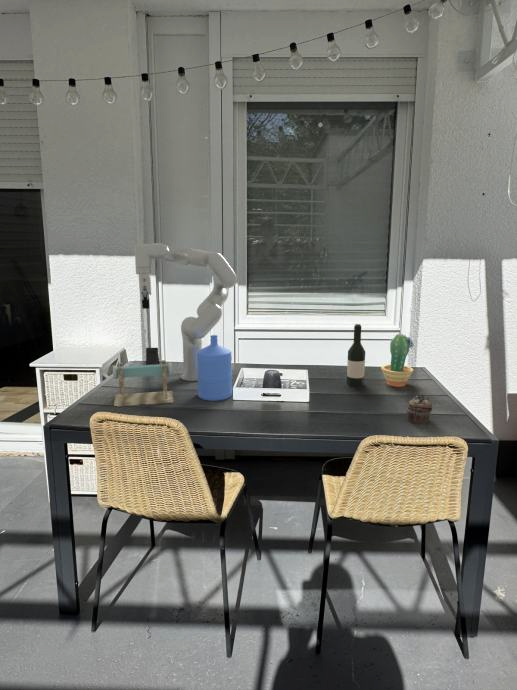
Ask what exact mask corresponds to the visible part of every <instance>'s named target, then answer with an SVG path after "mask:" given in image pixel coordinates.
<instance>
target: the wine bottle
mask: <svg viewBox="0 0 517 690" xmlns="http://www.w3.org/2000/svg"><path fill="white" fill-rule="evenodd" d="M354 324H355V325H354V326H353V327H354V328H353V342H352V344H351V346H350V347H349V349H348V351H347V364H346V365H347V367H346V370H347V371H346V385H347V386H349V387H356V388H357V387H358V388H359V387H363V386H364V384H365V369H366V368H365V367H366V366H365V365H366V350H365V348H364V346H363V345H362V342H361V341H362V325H361V323H354Z"/></svg>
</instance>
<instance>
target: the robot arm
mask: <svg viewBox="0 0 517 690" xmlns="http://www.w3.org/2000/svg"><path fill="white" fill-rule="evenodd" d="M153 260H160V261H165V262H170V263H177V264H179V265H183V266H189V267H195V268H201V269H208V270H212V272H213V275H212V280H213V288H212V290H211V292H210V293H209V294H208V296H206V298H205V299H204V300H203V301H202V302H201V303H200V304H199V305H198V307H197V309H196V314H197V317H194V316H187V317H185V318H184V319H183V320H182V321H181V326H180V331H181V332H180V333H181V337H182V358H183V359H182V361H183V362H182V363H183V373H182V374H181V375H180V379H181V380H182V381H186V382H198V379H197V373H198V368H197V352H198V351H199V350H201V349H203V343H202V339H203V338H205V337H206V336H207V335H208V334H209V333H210V332H211V330H213V328H214V327H215V326H216V325H218V323H219V322H220V320H221V318H222V315H223V311H222V306H224V304H225V303H226V301H227V300H228V296H229V292H230V291H229V289H231V288H233V287H235V286H236V284H237V283H238V281H237V279H238V277H237V274H236V272H235V271H234V270H233V268H232V267H231V266H230V265H229V263H228V261H227V260H226V259H225V257H224V256H223V255H222V254H221V253H219V252H216V251H208V250H203V249H198V248H191V247H187V246H173V245H172V246H171V245H167V244H164V243H161V242H159V243H157V242H155V243H154V242H153V243H151V244H149V243H137V244H135V245H134V261H135V275H138V284H139V291H140V296H141V308H142V310H143V309H146V310H147V309H150V297H149V296H151V295H152V282H151V281H152V280H151V275H153Z"/></svg>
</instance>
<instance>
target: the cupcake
mask: <svg viewBox="0 0 517 690" xmlns="http://www.w3.org/2000/svg"><path fill="white" fill-rule="evenodd" d="M405 408H406V415H407V420H408V421H409V422H412V423H415V424H427V423H428V422H429V421H430V417H431V415H432V411H433V406H432V402H431V401H429V398H428V397H427V396H426V395H422V396H420V395H419V394H417V395H416V396H414V397H413V399H411V400H409V402H408V404H407V405H406V407H405Z"/></svg>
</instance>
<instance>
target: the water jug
mask: <svg viewBox="0 0 517 690" xmlns="http://www.w3.org/2000/svg"><path fill="white" fill-rule="evenodd" d="M209 340H210V344H208V345H206V346H205V347H202V349H201V350H199V351H198V352H197V368H198V373H197V379H198V381H197V397H198V398H200V399H201V400H204V401H208V402H209V401H210V402H211V401H212V402H218V401H225V400H228V399H229V398H231V397H232V395H233V389H232V387H233V386H232V385H233V384H232V382H233V381H232V380H233V373H232V368H233V367H232V362H233V361H232V359H233V357H232V355H233V354H232V351H231V350H230V349H229V348H226V347H223V346H222V345H220V344H218V340H219V339H218V335H215V334H212V335H210V339H209Z"/></svg>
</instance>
